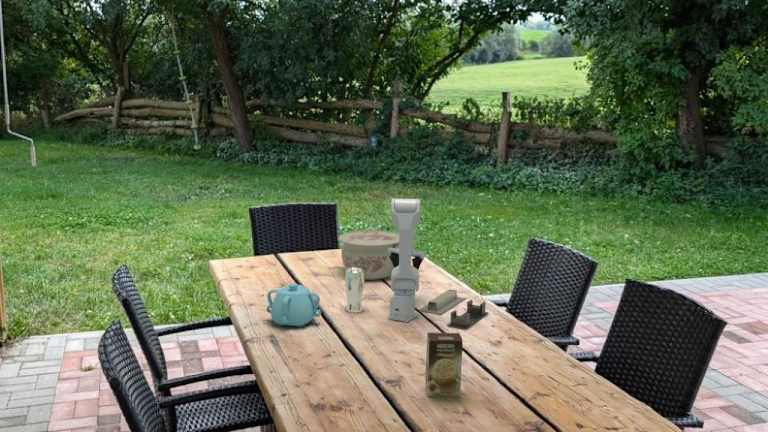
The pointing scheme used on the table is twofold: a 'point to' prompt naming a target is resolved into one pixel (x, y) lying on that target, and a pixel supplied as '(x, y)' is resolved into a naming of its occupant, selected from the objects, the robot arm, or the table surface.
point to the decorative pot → (293, 305)
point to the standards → (468, 316)
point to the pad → (444, 308)
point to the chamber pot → (369, 252)
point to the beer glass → (354, 289)
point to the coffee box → (443, 364)
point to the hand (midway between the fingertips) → (406, 274)
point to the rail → (442, 300)
